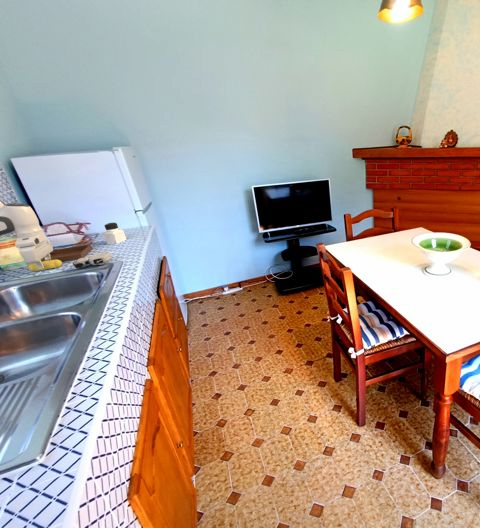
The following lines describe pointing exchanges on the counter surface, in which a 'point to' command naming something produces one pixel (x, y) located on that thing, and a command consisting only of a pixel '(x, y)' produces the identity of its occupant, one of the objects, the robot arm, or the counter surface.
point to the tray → (70, 253)
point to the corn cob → (46, 265)
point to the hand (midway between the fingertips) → (45, 265)
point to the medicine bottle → (113, 234)
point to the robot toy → (92, 260)
